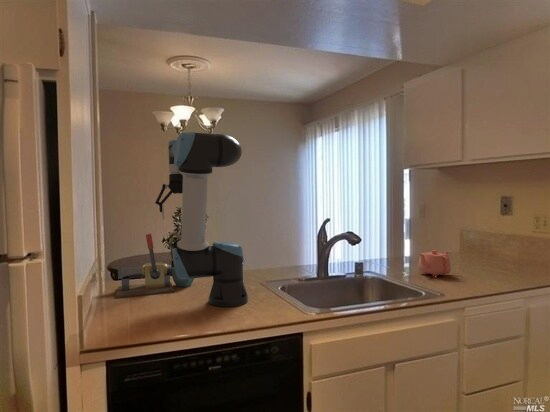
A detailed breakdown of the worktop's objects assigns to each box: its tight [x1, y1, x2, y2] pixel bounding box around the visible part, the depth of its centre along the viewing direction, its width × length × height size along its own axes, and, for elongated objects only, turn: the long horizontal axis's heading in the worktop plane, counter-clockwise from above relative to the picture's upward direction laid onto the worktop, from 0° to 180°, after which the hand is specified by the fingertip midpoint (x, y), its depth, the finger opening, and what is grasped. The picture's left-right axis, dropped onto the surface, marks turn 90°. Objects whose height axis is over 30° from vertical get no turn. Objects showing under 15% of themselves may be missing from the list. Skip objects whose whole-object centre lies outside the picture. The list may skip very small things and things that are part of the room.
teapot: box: [418, 249, 452, 277], centre depth 185 cm, size 15×17×13 cm
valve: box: [117, 261, 172, 291], centre depth 160 cm, size 9×22×10 cm, turn 111°
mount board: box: [115, 281, 175, 299], centre depth 159 cm, size 16×23×1 cm
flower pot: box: [171, 266, 195, 288], centre depth 167 cm, size 9×9×9 cm
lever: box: [145, 233, 160, 279], centre depth 155 cm, size 2×20×4 cm
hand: (178, 219), depth 170 cm, fingers open, 13 cm apart
